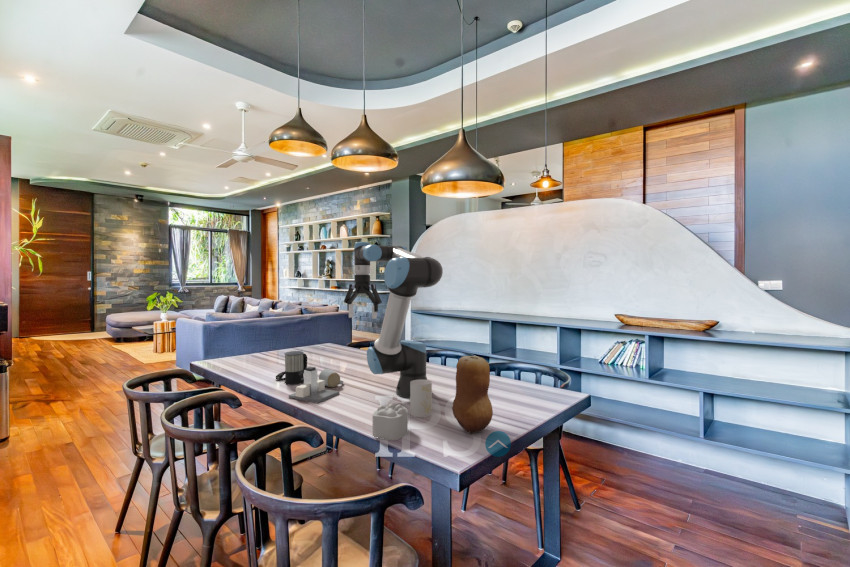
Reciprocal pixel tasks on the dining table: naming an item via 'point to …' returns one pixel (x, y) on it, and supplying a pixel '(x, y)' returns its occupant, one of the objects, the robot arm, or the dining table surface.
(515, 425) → the dining table surface
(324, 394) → the board
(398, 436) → the lumpy-topped squat cylinder
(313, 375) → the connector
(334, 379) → the ceramic mug
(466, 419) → the butternut squash
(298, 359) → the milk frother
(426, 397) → the cup
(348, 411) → the dining table surface
